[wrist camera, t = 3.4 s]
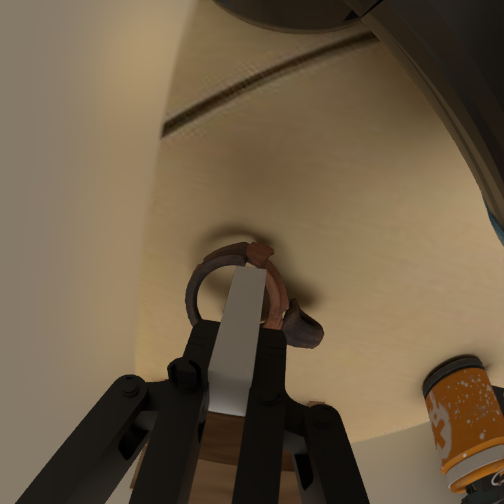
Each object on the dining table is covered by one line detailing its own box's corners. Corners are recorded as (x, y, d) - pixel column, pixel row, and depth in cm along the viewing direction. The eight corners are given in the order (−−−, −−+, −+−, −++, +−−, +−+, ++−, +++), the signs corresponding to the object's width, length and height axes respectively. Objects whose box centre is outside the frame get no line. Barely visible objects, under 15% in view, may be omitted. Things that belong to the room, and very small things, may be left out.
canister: (428, 361, 33) (465, 513, 16) (501, 344, 31) (553, 474, 14) (416, 401, 37) (438, 530, 20) (482, 385, 35) (516, 501, 18)
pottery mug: (197, 316, 33) (161, 336, 25) (226, 228, 32) (195, 222, 24) (308, 359, 30) (305, 395, 22) (343, 269, 30) (353, 277, 22)
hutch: (165, 379, 39) (127, 485, 25) (324, 402, 38) (325, 516, 24) (172, 415, 44) (144, 505, 31) (307, 435, 43) (303, 530, 29)
